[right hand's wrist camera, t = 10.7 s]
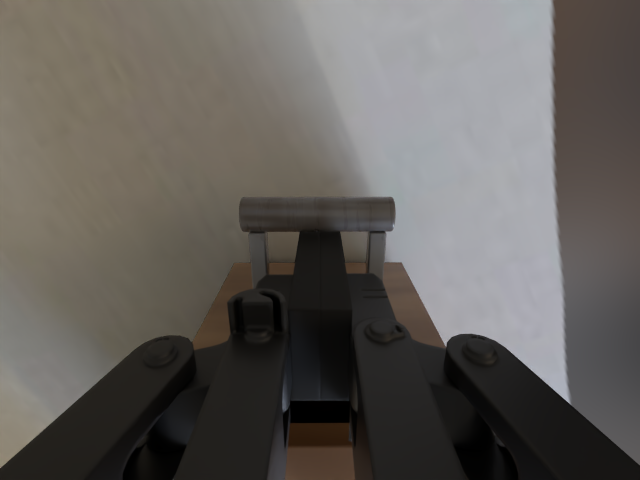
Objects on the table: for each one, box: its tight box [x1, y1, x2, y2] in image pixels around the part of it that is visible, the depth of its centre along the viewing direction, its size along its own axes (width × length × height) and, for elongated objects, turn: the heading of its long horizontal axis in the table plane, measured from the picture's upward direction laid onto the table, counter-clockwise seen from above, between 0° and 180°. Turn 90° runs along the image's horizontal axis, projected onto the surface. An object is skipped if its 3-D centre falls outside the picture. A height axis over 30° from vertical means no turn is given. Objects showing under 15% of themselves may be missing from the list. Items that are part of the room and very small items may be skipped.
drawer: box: [192, 197, 446, 423], centre depth 18 cm, size 21×9×8 cm, turn 0°
